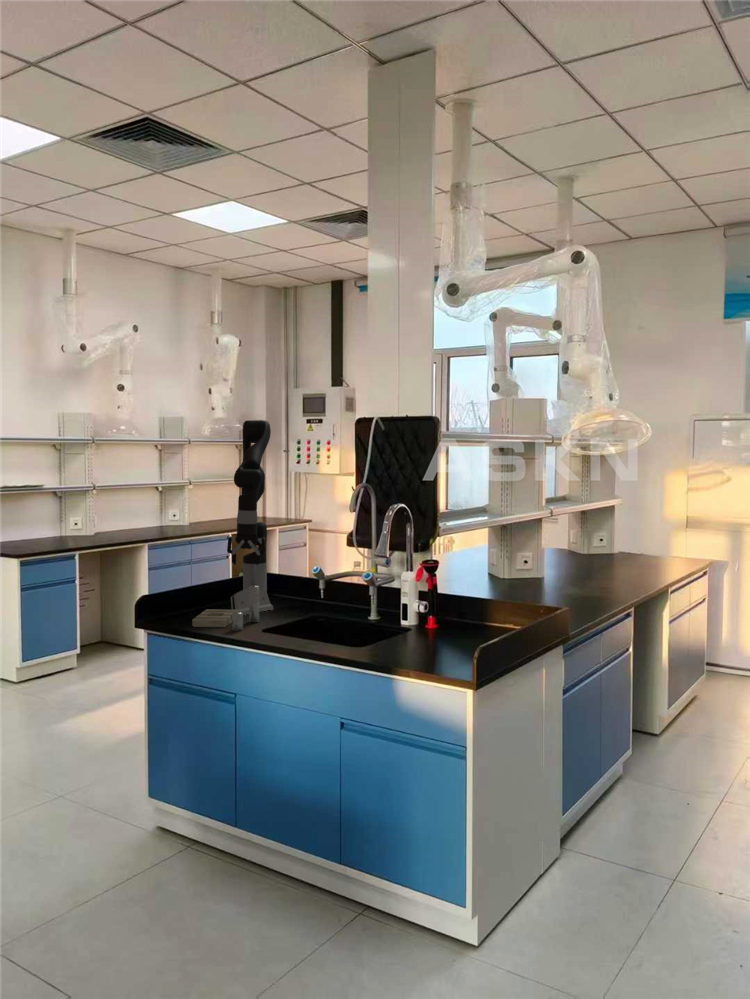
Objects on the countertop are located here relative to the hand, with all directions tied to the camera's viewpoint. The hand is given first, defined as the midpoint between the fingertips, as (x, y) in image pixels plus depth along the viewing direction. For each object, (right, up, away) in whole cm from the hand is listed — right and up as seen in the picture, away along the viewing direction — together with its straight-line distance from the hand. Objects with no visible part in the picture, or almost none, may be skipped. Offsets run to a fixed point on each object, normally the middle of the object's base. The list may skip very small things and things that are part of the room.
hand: (246, 564), depth 298 cm
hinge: (+1, -19, +3) cm, 19 cm away
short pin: (+2, -20, -28) cm, 34 cm away
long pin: (+5, -19, -15) cm, 25 cm away
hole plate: (-9, -19, -14) cm, 25 cm away
